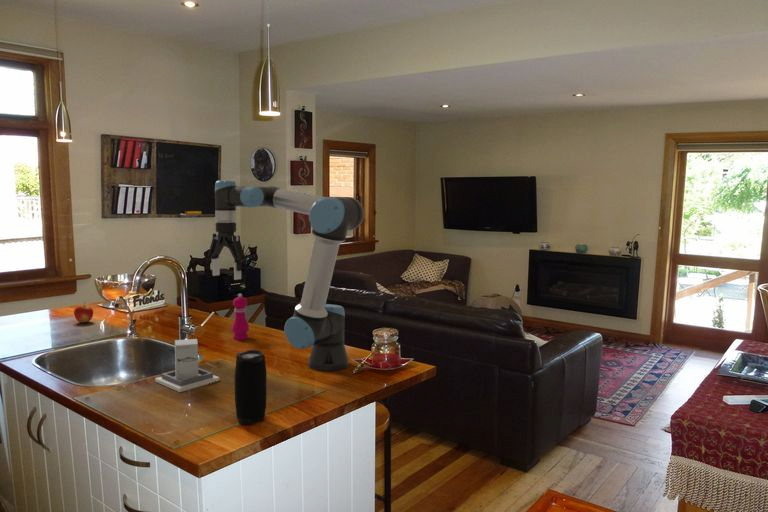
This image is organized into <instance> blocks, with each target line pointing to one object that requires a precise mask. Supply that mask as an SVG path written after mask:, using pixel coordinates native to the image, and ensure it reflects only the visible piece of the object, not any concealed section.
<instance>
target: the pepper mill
mask: <svg viewBox="0 0 768 512" xmlns="http://www.w3.org/2000/svg"><path fill="white" fill-rule="evenodd" d="M232 305H233V306H234V310H233V312H235V318H234V321H233V322H232V326H231V331H232V333H233V334H232V339H233V340H235V341H243V340H244V339H245V340H247V339H248V337H249V334H248V332H249V329H250V327H249V323H248V321H247V318H246V311H247V308H246V306H247V305H248V300H247V298H246V297H244V296H243V294H242V293H238V294H237V297H235V298H234V299H233V301H232Z"/></svg>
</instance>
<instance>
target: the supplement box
mask: <svg viewBox="0 0 768 512" xmlns="http://www.w3.org/2000/svg"><path fill="white" fill-rule="evenodd" d="M198 343H199V342H198V338H191V339H175V340H174V364H175V365H174V369H175V370H174V371H175V377H176V378H177V379H180V380H186V379H189V378H193V377H197V376H198V368H199V344H198Z"/></svg>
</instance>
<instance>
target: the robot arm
mask: <svg viewBox="0 0 768 512" xmlns="http://www.w3.org/2000/svg"><path fill="white" fill-rule="evenodd" d="M214 185H215V186H214V199H215V201H214V202H215V205H214V207H215V208H214V209H215V212H214V213H215V215H214V217H215V219H214V220H215V232H216V233H213V234H212V239H211V244H210V246H209V250H208V254H207V256H208V257H210V258H211V263H212V264H211V265H212V276H213V277H215V276H220V274H221V272H220V271H221V270H220V269H221V268H220V265H221V264H220V263H221V262H220V255H221V253H222V251H223V249H224V247H226V248H227V249H228V250H229V252H230V254H231V256H232V257H233V259H234V261H233V280H235V281H237V280H242V265H243V262H244V261H246V260H247V259H246V255H245V253H244V249H243V245H242V243H241V236H240V235H235V233H236V232H237V223H236V221H237V212H236V211H237V207H242V208H244V207H245V208H259V207H270V208H274V209H280V210H283V211H289V212H294V213H298V214H304V215H308V222H309V224H310V227H311V228H312V230H311V235H312V236H313V237H314V242H313V247H312V250H311V253H310V254H311V255H310V259H309V264H308V269H307V272H306V277H305V282H304V286H303V291H302V295H301V296H302V297H301V299H300V302H299V303H298V304H296V305H295V307H294V309H293V310H294V311H293V315H292V316H291V317H290V318H288V319H287V320H286V322H285V324H284V328H283V329H284V331H283V332H284V336H285V338H286V339H287V343H289V344H290V345H291V346H292V347H293V348H295V349H298V350H304V349H309V348H311V347H312V348H311V351H310V356H309V357H308V362H307V363H308V367H310V368H311V369H312V370H316V371H322V372H330V371H331V372H332V371H334V372H335V371H340V370H343V369H346V368H348V367H349V362H350V361H349V359H350V358H349V356H348V354H347V350H346V346H345V325H346V324H345V323H346V322H345V319H346V315H345V314H346V313H345V309H344V308H345V307H343V306H341V305H338V304H330V303H327V299H328V295H329V290H330V287H331V284H332V283H331V282H332V278H333V274H334V271H335V270H334V269H335V266H336V261H337V258H338V257H337V256H338V253H339V249H340V245H341V244H343V243H344V242H346V238H347V234H348V231H353V230H355V229H357V228H358V227H360V225H361V224H362V222H363V220H364V219H365V218H364V217H365V210H364V207H363V205H362V203H361V202H360V201H359V200H358V199H356V198H353V197H351V196H350V197H349V196H343V197H341V196H327V197H326V196H321V195H316V194H315V195H314V194H310V193H306V192H301V191H300V192H299V191H294V190H289V189H283V188H280V187H277V186H271V185H270V186H254V185H248V186H247V185H242V186H241V185H240V186H239V185H237V184H236V181H235V180H216V182H215V184H214Z"/></svg>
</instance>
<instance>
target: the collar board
mask: <svg viewBox="0 0 768 512" xmlns="http://www.w3.org/2000/svg"><path fill="white" fill-rule="evenodd" d="M154 380H155V383H157V384H160V385H162V386H165V387H166V388H168V389H169V388H170V389H172V390H173V391H175V392H178V393H182V392H185V391H188V390H192V389H195V388H199V387H202V386H206V385H210V384H212V382H213V383H216V382H219V381H220V376H217V375H214V373H213V372H212V371H208V370H206V369H203V368H200V367H198V376H197V377H193V378H189V379H186V380H180V379H177V378H176V377H175V370H172V371H167V372H163V373H161V376H158V377H155V379H154ZM218 380H219V381H218ZM215 381H216V382H215ZM209 383H210V384H209Z"/></svg>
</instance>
